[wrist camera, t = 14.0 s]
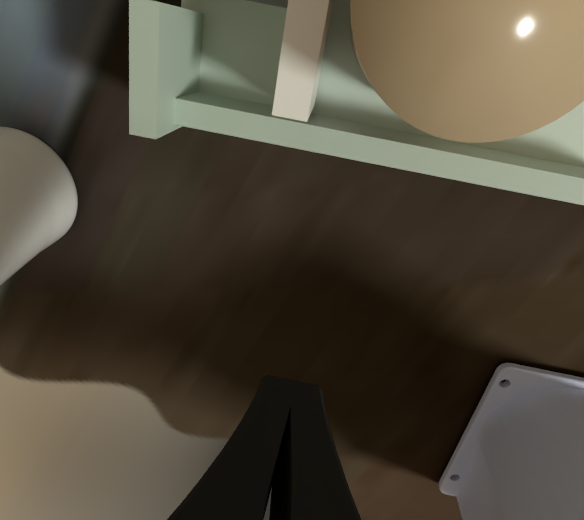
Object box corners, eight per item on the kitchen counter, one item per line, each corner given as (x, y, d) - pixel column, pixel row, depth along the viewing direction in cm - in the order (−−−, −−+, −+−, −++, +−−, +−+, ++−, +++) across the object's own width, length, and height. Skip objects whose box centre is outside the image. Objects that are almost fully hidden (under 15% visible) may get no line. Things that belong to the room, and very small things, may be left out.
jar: (465, 130, 15) (548, 179, 9) (323, 76, 15) (310, 89, 9) (555, -45, 13) (749, -137, 7) (388, -113, 13) (432, -272, 6)
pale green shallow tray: (582, 190, 17) (670, 241, 12) (184, 111, 17) (129, 134, 12) (727, -98, 13) (936, -177, 8) (201, -196, 13) (128, -325, 8)
